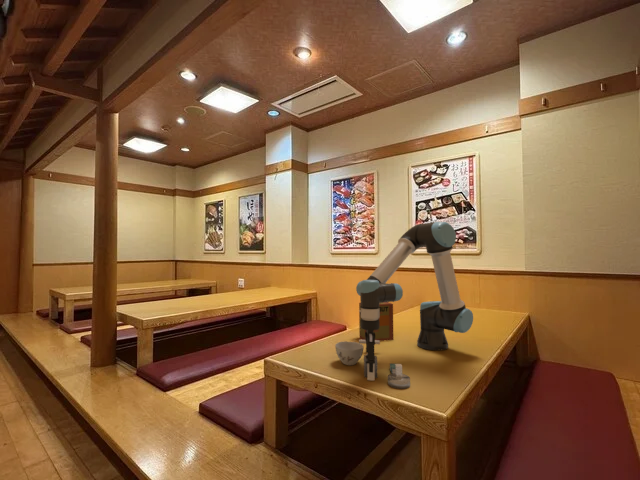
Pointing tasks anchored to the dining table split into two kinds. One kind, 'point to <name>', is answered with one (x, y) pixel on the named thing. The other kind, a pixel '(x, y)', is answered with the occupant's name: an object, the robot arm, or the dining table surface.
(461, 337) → the dining table surface
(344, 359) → the teacup
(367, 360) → the square hollow tube
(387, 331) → the box
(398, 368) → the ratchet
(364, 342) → the pipe connector
